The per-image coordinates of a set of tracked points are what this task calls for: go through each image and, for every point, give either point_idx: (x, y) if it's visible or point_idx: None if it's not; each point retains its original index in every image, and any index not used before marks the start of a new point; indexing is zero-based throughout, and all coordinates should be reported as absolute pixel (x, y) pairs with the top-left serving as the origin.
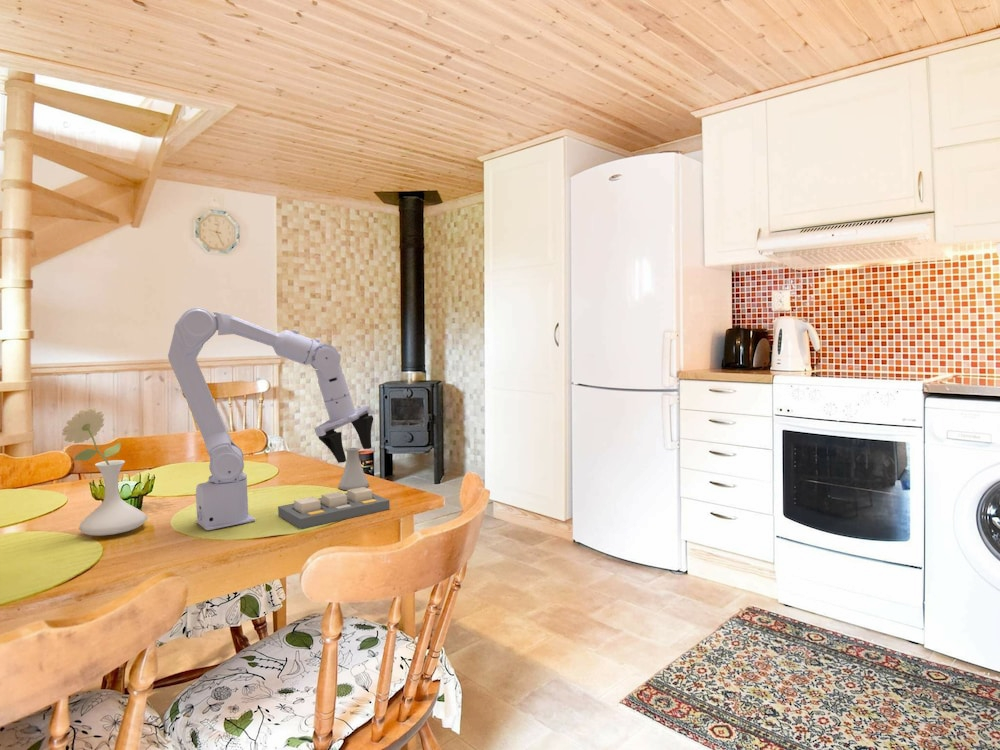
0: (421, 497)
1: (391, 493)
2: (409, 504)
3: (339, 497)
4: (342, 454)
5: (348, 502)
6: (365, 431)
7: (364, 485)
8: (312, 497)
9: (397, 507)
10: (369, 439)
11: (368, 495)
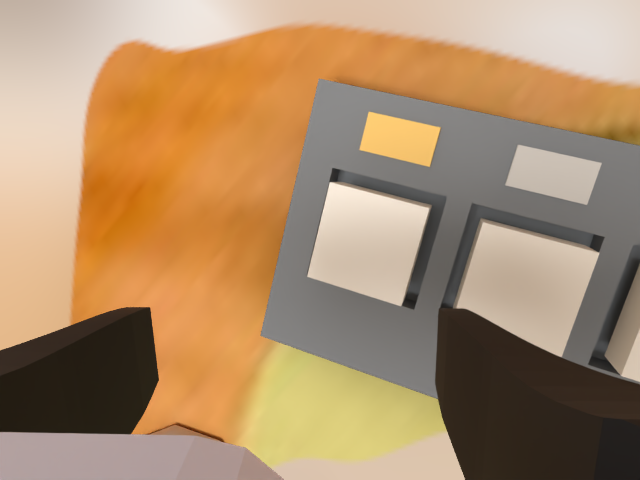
0: (132, 113)
1: (160, 273)
2: (230, 72)
3: (530, 235)
4: (492, 326)
5: (464, 226)
6: (34, 398)
7: (168, 433)
8: (636, 362)
9: (291, 80)
10: (86, 327)
11: (357, 187)
